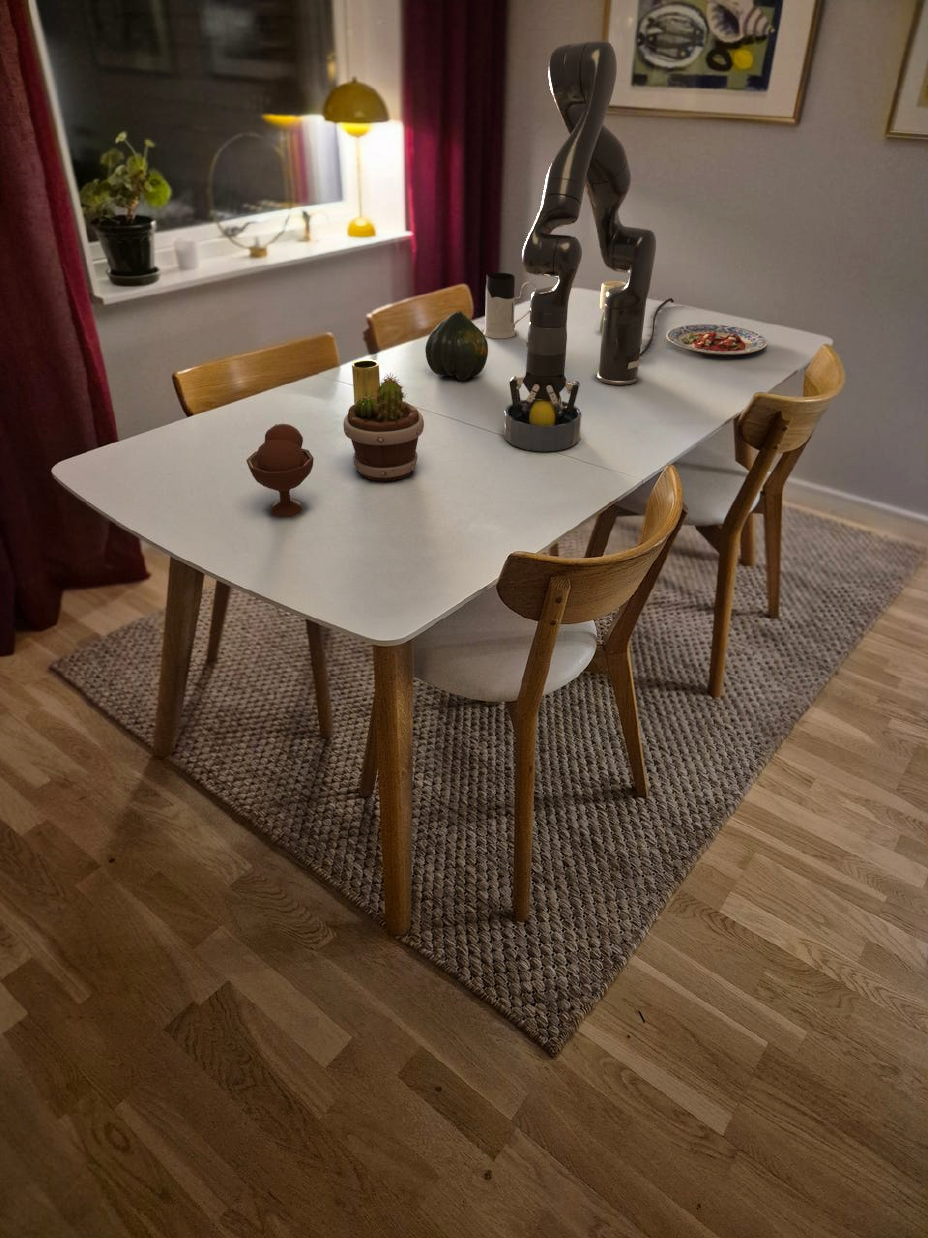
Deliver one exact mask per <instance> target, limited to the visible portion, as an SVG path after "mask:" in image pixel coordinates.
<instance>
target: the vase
mask: <svg viewBox="0 0 928 1238" xmlns="http://www.w3.org/2000/svg"><path fill="white" fill-rule="evenodd" d="M351 374H352V388H353V389H352V390H353V405H354V404H357V402H356V401H357V399H358V397H359V396H361V397H359V399H361V398H364V396H365V393H366V394H367V392H368V394H367V396H368V397H370V396H371V397H370V398H372V397H373V396H374V395H376V396H377V394H378V393H375V392H377V391H376V390H375V388H377V386H378V387H379V384H380V383H381V379H380V378H381V377H380V366H379V362H378V361H377V360H373V359H361V360H360V359H359V360H356V361H354V362H352V363H351ZM379 381H380V382H379ZM375 385H376V387H375ZM380 385H381V384H380ZM373 389H374V390H373ZM374 391H375V392H374ZM363 394H364V395H363ZM365 397H366V396H365ZM359 399H358V400H359ZM373 399H374V398H373ZM376 399H377V398H376ZM355 400H356V401H355Z"/></svg>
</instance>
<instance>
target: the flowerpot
mask: <svg viewBox="0 0 928 1238" xmlns="http://www.w3.org/2000/svg"><path fill="white" fill-rule="evenodd" d="M393 376H394V374H392V372H390V374H386V375H384V378H382V380H380V381H379V382H380V384H379V387H378V386H377V388H375V390H376V391H377V392H375V391H374V392H375V393H378V394H377V396H376V395H374V396H373V397H372V398H370V397H371V396H370V397H368V396H367V394H368V392H367V394H366V393H365V396H366V397H365V396H364V398H361V399H359V397H361V396H359V397H358V399H359V400H358V399H357V401H356V400H355V401H356V402H357V404H354V403H353V404H352V405H350V407H349V408H348V410H347V414H346V415H345V417H344V419H343V424H342V425H343V433H344V435H345V436H346V437H347V438H348V439H349V440H351V444H352V447H353V450H354V454H353V456H352V459H353V463H354V468H355V469H356V470H357V471H358V472H359V473H360V474H361V475H362V477H363V478H365V479H368V480H371V481H374V482H375V481H376V482H390V481H391V482H392V481H396V480H403V479H405V478H407V477H408V476H410V475H411V474H412V472H413V470H414V469H415V468H416V466H417V462H418V458H419V457H418V456H419V455H418V452H417V446H418V442H419V441H418V440H419V437H420V436H421V435H422V434H423V432H424V429H425V420H424V416H423V414H422V412H420V411H419V410H418V409H417V408H416V407H415V406H413V405H412V404H410V403H408V402H406V401H404V400H406V399H407V398H408V393H406V391H405V390H406V387H404V385H402V382H399V381H400V379H397V378H396V376H394V377H393ZM400 383H401V384H400ZM375 387H376V385H375ZM373 390H374V389H373ZM363 395H364V394H363ZM406 395H407V396H406ZM373 398H374V399H373ZM376 398H377V399H376Z"/></svg>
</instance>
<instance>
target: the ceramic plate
mask: <svg viewBox="0 0 928 1238" xmlns="http://www.w3.org/2000/svg"><path fill="white" fill-rule="evenodd" d="M666 339H667V340H668V341H669V342H670V343H672V344H673V345H675V346H677V347H680V348H682V349H685V350H688V351H691V352H694V353H698V354H702V355H707V356H718V357H719V356H721V357H723V356H736V355H744V354H745V355H746V354H751V353H756V352H759V351H761V350H763V349H765V348H766V347H767V345H768V344H769V343H768V339H767V338H766V337H765V336H764V335H762V334H760V333H758V332H757V331H754V330H750V329H747V328H743V327H739V326H735V325H734V326H733V325H726V324H717V323H716V324H715V323H714V324H713V323H697V324H696V323H695V324H686V325H680V326H677V327H674V328H671V329H669V331H667V333H666Z"/></svg>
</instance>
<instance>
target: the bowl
mask: <svg viewBox="0 0 928 1238" xmlns="http://www.w3.org/2000/svg"><path fill="white" fill-rule="evenodd" d="M520 400H521V402H523V403H525V402H526V400H527V399H520ZM535 401H537V400H536V399H535V398H534V399H533V401H532V403H531V405H530V407H529V410H530V409H531V406H532V405H533V403H534V402H535ZM562 403H563V406H567V405H568V401H564V400H562ZM556 414H557V413H556ZM503 420H504V421H503V423H504V424H503V436H504V439H505V440H506V441H507V442H508V443H509V444H511V445H513V446H515V447H516V448H519V449H522V450H526V451H531V452H538V453H539V452H543V453H544V452H545V453H546V452H547V453H549V452H557V451H562V450H566V449H568V448H571V447H574V445H576V444H577V443H578V442H579V440H580V436H581V424H582V411H581V410H580V408H579V407H577V406H576V405H574V408H573V411H572V413H571V414H565V415H564V419H563V424H560V425H552V426H540V425H531V424H526V423H522V412H521V411H520V410H518V409H517V410H515V409H513V405H512V403H511V404H509V405H507V406H506V408H505V409H504V419H503Z"/></svg>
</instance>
